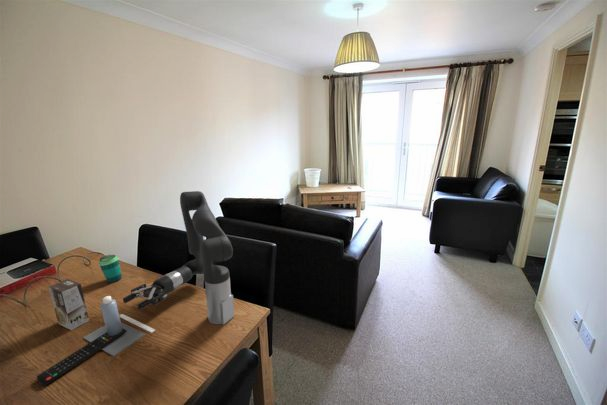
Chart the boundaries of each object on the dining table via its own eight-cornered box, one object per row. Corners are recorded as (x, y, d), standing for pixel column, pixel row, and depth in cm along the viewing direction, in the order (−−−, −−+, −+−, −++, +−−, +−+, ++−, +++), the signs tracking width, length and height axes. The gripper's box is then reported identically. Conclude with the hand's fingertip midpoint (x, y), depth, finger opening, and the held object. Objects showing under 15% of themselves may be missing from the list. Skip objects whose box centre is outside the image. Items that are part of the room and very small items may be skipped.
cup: (115, 284, 133) (110, 261, 130) (98, 284, 133) (93, 261, 130) (125, 275, 141) (121, 254, 138) (109, 275, 141) (105, 253, 138)
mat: (145, 335, 101) (145, 334, 100) (113, 356, 91) (113, 355, 91) (115, 320, 108) (115, 319, 108) (83, 338, 99) (83, 337, 99)
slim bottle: (125, 329, 100) (117, 296, 96) (112, 337, 97) (103, 303, 93) (117, 325, 102) (109, 292, 98) (105, 333, 99) (96, 299, 95)
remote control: (126, 333, 101) (126, 330, 100) (44, 388, 80) (43, 384, 80) (117, 328, 103) (117, 325, 103) (35, 381, 82) (34, 377, 82)
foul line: (155, 330, 103) (155, 329, 103) (151, 333, 102) (151, 332, 102) (122, 314, 112) (122, 313, 112) (118, 316, 110) (118, 316, 110)
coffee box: (90, 320, 108) (81, 283, 104) (71, 331, 103) (61, 292, 98) (76, 314, 112) (68, 278, 108) (57, 323, 106) (47, 286, 102)
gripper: (156, 271, 120) (117, 290, 106) (179, 279, 114) (141, 300, 99) (158, 287, 122) (120, 307, 108) (181, 295, 115) (144, 318, 101)
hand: (130, 304), depth 104 cm, fingers open, 8 cm apart
